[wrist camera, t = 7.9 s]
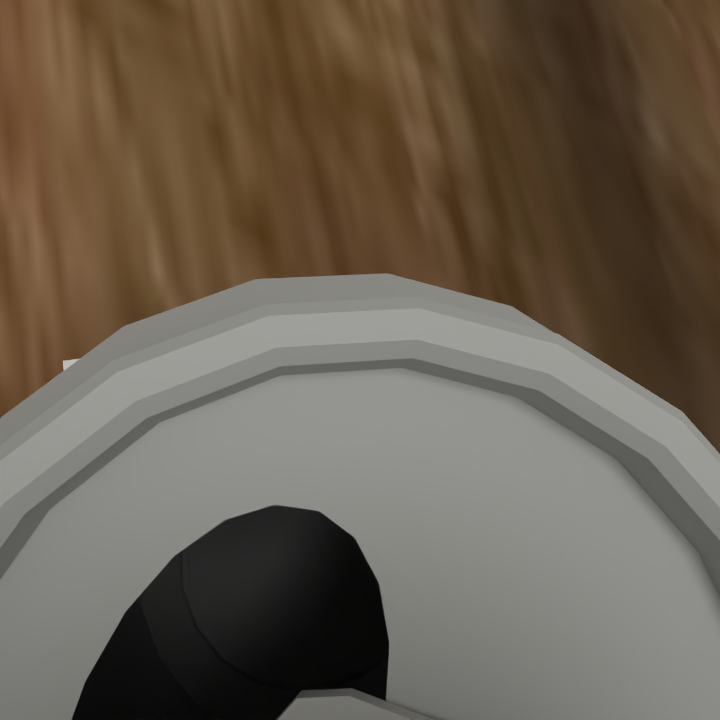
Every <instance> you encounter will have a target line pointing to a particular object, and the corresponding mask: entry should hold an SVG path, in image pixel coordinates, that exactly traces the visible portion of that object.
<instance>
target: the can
mask: <svg viewBox="0 0 720 720" xmlns="http://www.w3.org/2000/svg"><path fill="white" fill-rule="evenodd" d="M0 720H720V454H719V453H718V452H717V450H716V449H715V448H714V447H713V446H712V445H711V444H710V443H709V441H708V440H707V439H706V438H705V437H704V436H703V435H702V434H701V432H700V431H699V430H698V429H697V428H696V427H695V426H694V425H693V423H692V422H691V421H690V420H689V419H688V418H687V417H686V415H685V414H684V413H683V412H682V411H680V410H679V409H677V408H675V407H674V406H672V405H671V404H669V403H667V402H666V401H664V400H663V399H661V398H659V397H658V396H656V395H655V394H653V393H651V392H650V391H648V390H647V389H645V388H643V387H642V386H640V385H639V384H637V383H635V382H634V381H632V380H631V379H629V378H627V377H626V376H624V375H623V374H621V373H619V372H618V371H616V370H615V369H613V368H611V367H610V366H608V365H607V364H605V363H603V362H602V361H600V360H599V359H597V358H596V357H594V356H592V355H591V354H589V353H588V352H586V351H584V350H583V349H581V348H580V347H578V346H576V345H575V344H573V343H572V342H570V341H568V340H567V339H565V338H564V337H562V336H560V335H559V334H556V333H553V332H552V331H550V330H549V329H547V328H545V327H544V326H542V325H541V324H539V323H537V322H536V321H534V320H533V319H531V318H529V317H528V316H526V315H525V314H523V313H521V312H520V311H518V310H517V309H515V308H513V307H512V306H508V305H504V304H501V303H497V302H493V301H489V300H486V299H482V298H478V297H474V296H470V295H467V294H463V293H459V292H455V291H452V290H448V289H444V288H440V287H437V286H433V285H429V284H425V283H422V282H418V281H414V280H410V279H407V278H403V277H399V276H395V275H391V274H364V275H341V276H318V277H295V278H272V279H255V280H252V281H249V282H246V283H243V284H241V285H238V286H235V287H232V288H230V289H227V290H224V291H221V292H218V293H216V294H213V295H210V296H207V297H204V298H202V299H199V300H196V301H193V302H190V303H188V304H185V305H182V306H179V307H177V308H174V309H171V310H168V311H165V312H163V313H160V314H157V315H154V316H151V317H149V318H146V319H143V320H140V321H137V322H135V323H132V324H129V325H126V326H124V327H122V328H121V329H119V330H118V331H117V332H115V333H114V334H113V335H111V336H110V337H109V338H107V339H106V340H105V341H103V342H102V343H101V344H99V345H98V346H97V347H95V348H94V349H92V350H91V351H90V352H88V353H87V354H86V355H84V356H83V357H82V358H80V359H79V360H78V361H76V362H75V363H74V364H72V365H71V366H70V367H68V368H67V369H66V370H64V371H63V372H62V373H60V374H59V375H57V376H56V377H55V378H53V379H52V380H51V381H49V382H48V383H47V384H45V385H44V386H43V387H41V388H40V389H39V390H37V391H36V392H35V393H33V394H32V395H31V396H29V397H28V398H27V399H25V400H24V401H22V402H21V403H20V404H18V405H17V406H16V407H14V408H13V409H12V410H10V411H9V412H8V413H6V414H5V415H4V416H2V417H1V419H0Z"/></svg>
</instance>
